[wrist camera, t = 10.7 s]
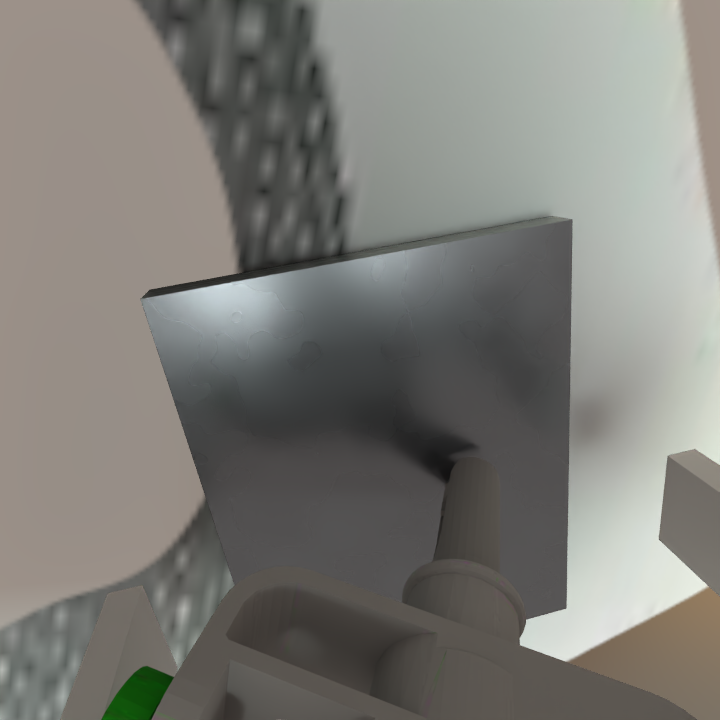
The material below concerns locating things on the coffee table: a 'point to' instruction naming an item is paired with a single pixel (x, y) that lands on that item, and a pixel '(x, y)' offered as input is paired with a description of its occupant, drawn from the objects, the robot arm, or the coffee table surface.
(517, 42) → the coffee table surface
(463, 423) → the plate
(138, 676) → the mechanical component
